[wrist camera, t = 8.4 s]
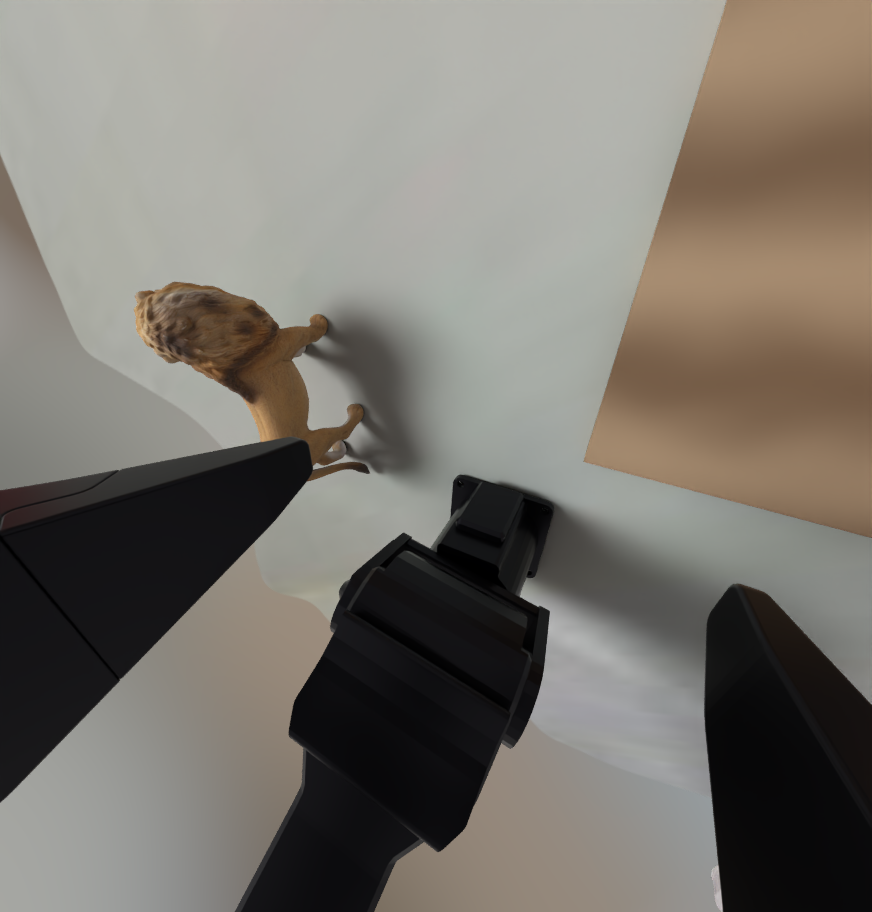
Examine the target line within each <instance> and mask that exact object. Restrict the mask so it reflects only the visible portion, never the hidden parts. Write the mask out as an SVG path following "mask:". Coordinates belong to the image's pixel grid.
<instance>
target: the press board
mask: <svg viewBox="0 0 872 912" xmlns="http://www.w3.org/2000/svg"><path fill="white" fill-rule="evenodd" d="M584 462H587V463H590V464H594V465H598V466H602V467H605V468H609V469H613V470H617V471H621V472H624V473H628V474H632V475H636V476H640V477H643V478H647V479H651V480H655V481H658V482H662V483H666V484H670V485H674V486H677V487H681V488H685V489H689V490H692V491H696V492H700V493H704V494H708V495H711V496H715V497H719V498H723V499H727V500H730V501H734V502H738V503H742V504H745V505H749V506H753V507H757V508H761V509H764V510H768V511H772V512H776V513H780V514H783V515H787V516H791V517H795V518H798V519H802V520H806V521H810V522H814V523H817V524H821V525H825V526H829V527H832V528H836V529H840V530H844V531H848V532H851V533H855V534H859V535H863V536H867V537H870V538H872V0H727V2H726V5H725V8H724V12H723V15H722V18H721V21H720V24H719V28H718V31H717V34H716V37H715V40H714V44H713V47H712V50H711V53H710V56H709V60H708V63H707V66H706V69H705V72H704V76H703V79H702V82H701V85H700V89H699V92H698V95H697V98H696V101H695V105H694V108H693V111H692V114H691V117H690V121H689V124H688V127H687V130H686V133H685V137H684V140H683V143H682V146H681V149H680V153H679V156H678V159H677V162H676V165H675V169H674V172H673V175H672V178H671V182H670V185H669V188H668V191H667V194H666V198H665V201H664V204H663V207H662V210H661V214H660V217H659V220H658V223H657V226H656V230H655V233H654V236H653V239H652V242H651V246H650V249H649V252H648V255H647V259H646V262H645V265H644V268H643V271H642V275H641V278H640V281H639V284H638V287H637V291H636V294H635V297H634V300H633V303H632V307H631V310H630V313H629V316H628V319H627V323H626V326H625V329H624V332H623V336H622V339H621V342H620V345H619V348H618V352H617V355H616V358H615V361H614V364H613V368H612V371H611V374H610V377H609V380H608V384H607V387H606V390H605V393H604V396H603V400H602V403H601V406H600V409H599V412H598V416H597V419H596V422H595V425H594V429H593V432H592V435H591V438H590V441H589V445H588V448H587V451H586V454H585V458H584Z"/></svg>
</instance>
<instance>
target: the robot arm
mask: <svg viewBox="0 0 872 912" xmlns="http://www.w3.org/2000/svg"><path fill="white" fill-rule="evenodd" d="M312 471H313V465H312V459H311V453H310V447H309V444H308V443H307V441H305V440H303V439H300V438H297V437H292V436H291V437H285V438H280V439H275V440H270V441H264V442H259V443H254V444H249V445H244V446H239V447H233V448H228V449H223V450H218V451H213V452H208V453H203V454H198V455H193V456H187V457H182V458H177V459H172V460H167V461H161V462H156V463H151V464H146V465H141V466H136V467H130V468H126V469H122V470H120V471H119V470H115V471H109V472H105V473H99V474H94V475H88V476H83V477H78V478H72V479H67V480H61V481H55V482H49V483H43V484H37V485H31V486H24V487H18V488H11V489H5V490H0V802H1V801H3V800H4V799H5V798H6V797H7V796H8V795H9V794H10V793H11V792H12V791H13V790H14V789H15V788H16V787H17V786H18V785H19V784H20V783H21V782H22V781H23V780H24V779H25V778H26V777H27V776H28V775H29V774H30V773H31V772H32V771H33V770H34V769H35V768H36V767H37V766H38V765H39V764H40V763H41V762H42V760H43V759H44V758H46V756H47V755H48V754H49V753H50V752H51V751H52V750H53V749H54V748H55V747H56V746H57V745H58V744H59V743H60V742H61V741H62V740H63V739H64V738H65V737H66V736H67V735H68V734H69V733H70V732H71V731H72V730H73V729H74V728H75V727H76V726H77V725H78V724H79V722H80V721H81V720H82V719H83V718H84V717H85V716H86V715H87V714H88V713H89V712H90V711H91V710H92V709H93V708H94V707H95V706H96V705H97V704H98V703H99V702H100V701H101V700H102V699H103V698H104V697H105V696H106V695H107V694H108V692H109V691H111V689H112V688H113V687H114V686H115V685H116V684H117V683H118V682H119V681H120V679H121V678H122V677H124V675H126V673H128V672H129V670H131V668H132V667H133V666H134V665H135V664H136V663H137V662H138V661H139V660H140V659H141V658H142V657H143V656H144V655H145V654H146V653H147V652H148V651H149V650H150V649H151V648H152V647H153V646H154V644H156V643H157V642H158V641H159V640H160V639H161V638H162V636H163V635H164V634H165V633H166V632H167V631H168V630H169V629H170V628H171V627H172V626H173V625H174V624H175V623H176V622H177V621H178V620H179V619H180V618H181V617H182V616H183V615H184V614H185V613H186V612H187V611H188V610H189V609H190V608H191V607H192V606H193V605H194V604H195V603H196V602H197V601H198V600H199V598H201V596H202V595H203V594H204V593H205V592H206V591H207V590H208V589H209V588H210V587H211V586H212V585H213V584H214V583H215V582H216V581H217V580H218V579H219V578H220V577H221V576H222V575H223V574H224V573H225V572H226V571H227V570H228V569H229V568H230V567H231V566H232V565H233V564H234V562H236V560H237V559H238V558H239V557H240V556H241V555H242V554H243V553H244V552H245V551H246V550H247V549H248V548H249V547H250V546H251V545H252V544H253V543H254V542H255V541H256V540H257V539H258V538H259V537H260V536H261V535H262V534H263V533H264V532H265V531H266V530H267V529H268V528H269V526H270V525H271V524H272V523H273V522H274V521H275V520H276V519H277V517H278V516H279V515H280V514H281V513H282V511H283V510H284V509H285V508H286V506H287V505H288V504H289V503H290V501H291V500H292V499H293V498H294V497H295V495H296V494H297V493H298V492H299V490H300V489H301V488H302V487H303V485H304V484H305V483H306V482H307V480H308V479H309V478H310V476H311V474H312ZM459 481H461V482H463V484H461V483H460V482H459ZM542 508H546V509H548V511H544V510H543V509H542ZM553 513H554V506H553V505H552V504H551V503H550V502H548V501H545V500H542V499H538V498H535V497H532V496H529V495H526V494H522V493H520V492H517V491H514V490H510V489H507V488H504V487H501V486H498V485H494V484H491V483H488V482H485V481H481V480H477V479H474V478H471V477H468V476H465V475H458V476H457V477H456V478H455V480H454V482H453V493H452V505H451V517H450V520H449V521H448V523H447V524H446V526H445V527H444V529H443V530H442V532H441V533H440V535H439V536H438V538H437V539H436V541H435V542H434V544H433V545H432V546H431V548H428V547H426V546H424V545H422V544H420V543H419V542H417V541H415V540H413V539H412V537H411V536H409V535H407V534H405V533H402V534H401V535H400V536H399V537H397V538H396V539H395V540H392V541H391V542H390V543H389V544H388V545H386V546H385V547H384V548H383V549H382V550H381V551H379V552H378V553H377V554H376V555H375V556H374V557H372V558H371V559H370V560H369V561H368V562H366V563H365V564H364V565H363V566H362V567H361V568H359V569H358V570H357V571H356V572H355V573H354V574H353V575H352V577H351V579H350V580H348V581H346V582H345V583H344V584H343V585H342V586H341V588H340V590H339V597H340V600H339V602H338V604H337V607H336V609H335V611H334V614H333V617H332V620H331V625H330V629H331V631H332V632H333V633H334V634H333V636H332V638H331V640H330V642H329V644H328V645H327V647H326V649H325V651H324V653H323V655H322V657H321V659H320V660H319V662H318V664H317V665H316V667H315V669H314V670H313V672H312V673H311V675H310V677H309V678H308V680H307V681H306V683H305V685H304V686H303V688H302V689H301V691H300V692H299V694H298V696H297V697H296V699H295V702H294V705H293V710H292V715H291V721H290V727H289V737H290V738H291V739H293V740H294V741H295V742H297V743H298V744H299V745H300V746H302V747H303V770H302V784H301V787H300V789H299V791H298V794H297V795H296V797H295V799H294V801H293V803H292V805H291V807H290V809H289V811H288V813H287V815H286V816H285V818H284V820H283V822H282V824H281V826H280V828H279V830H278V831H277V833H276V835H275V837H274V839H273V841H272V843H271V845H270V847H269V848H268V851H267V852H266V854H265V856H264V858H263V860H262V862H261V864H260V865H259V867H258V869H257V871H256V873H255V875H254V877H253V879H252V880H251V882H250V884H249V886H248V888H247V890H246V892H245V894H244V895H243V897H242V899H241V901H240V903H239V905H238V907H237V909H236V911H235V912H374V911H375V908H376V906H377V903H378V901H379V899H380V897H381V894H382V892H383V890H384V888H385V885H386V883H387V881H388V878H389V876H390V874H391V872H392V869H393V867H394V865H395V863H396V861H397V860H399V859H400V858H401V857H403V856H404V855H406V854H407V853H409V852H410V851H411V850H413V849H414V848H416V847H417V846H419V845H420V844H422V843H423V842H425V843H426V844H428V845H429V846H430V847H431V848H433V849H434V850H435V851H437V852H439V851H441V850H443V849H444V848H445V847H446V846H447V845H448V844H449V843H450V842H451V841H452V840H454V839H455V838H456V837H457V836H458V835H459V834H460V833H461V832H462V831H463V830H464V829H465V827H466V825H467V822H468V820H469V817H470V814H471V812H472V809H473V806H474V805H475V803H476V801H477V799H478V797H479V794H480V792H481V790H482V787H483V785H484V782H485V780H486V778H487V776H488V773H489V771H490V769H491V766H492V764H493V761H494V759H495V756H496V754H497V752H498V749H499V747H500V745H501V743H502V744H504V745H505V746H507V747H508V748H510V749H511V748H512V747H514V746H515V744H516V743H517V742H518V740H519V739H520V737H521V735H522V733H523V731H524V729H525V727H526V725H527V723H528V721H529V718H530V716H531V713H532V711H533V708H534V705H535V702H536V699H537V696H538V693H539V689H540V686H541V681H542V677H543V671H544V663H545V653H546V644H547V634H548V624H549V615H550V611H549V610H547V609H545V608H543V607H541V606H539V607H537V606H535V605H534V604H532V603H530V602H528V601H526V600H524V599H522V598H521V597H519V596H520V593H521V590H522V588H523V585H524V582H525V579H526V577H528V578H533V577H535V575H536V572H537V569H538V565H539V562H540V558H541V555H542V551H543V548H544V544H545V541H546V537H547V534H548V530H549V527H550V523H551V520H552V516H553ZM528 570H530V571H528ZM704 717H705V732H706V742H707V753H708V763H709V773H710V784H711V794H712V804H713V815H714V825H715V836H716V846H717V856H718V867H719V877H720V887H721V898H722V908H723V912H872V705H871V704H870V703H869V702H868V700H867V699H866V698H865V697H864V696H863V695H862V694H861V693H860V692H859V691H858V690H857V689H856V688H855V687H854V686H853V684H852V683H851V682H850V681H849V680H848V679H847V678H846V677H845V676H844V675H843V674H842V673H841V672H840V671H839V670H838V669H837V667H836V666H835V665H834V664H833V663H832V662H831V661H830V660H829V659H828V658H827V657H826V656H825V655H824V654H823V653H822V651H821V650H820V649H819V648H818V647H817V646H816V645H815V644H814V643H813V642H812V641H811V640H810V639H809V638H808V637H807V635H806V634H805V633H804V632H803V631H802V630H801V629H800V628H799V627H798V626H797V625H796V624H795V623H794V622H793V621H792V619H791V618H790V617H789V616H788V615H787V614H786V613H785V612H784V611H783V610H782V609H781V608H780V607H779V606H778V605H777V603H776V602H775V601H774V600H773V599H772V598H771V597H770V596H769V595H768V594H766V593H765V592H762V591H760V590H757V589H754V588H751V587H748V586H745V585H742V584H733V585H731V586H730V587H729V588H728V589H727V591H726V592H725V593H724V595H723V596H722V597H721V599H720V600H719V601H718V603H717V604H716V605H715V607H714V608H713V609H712V611H711V612H710V614H709V617H708V620H707V629H706V661H705V694H704Z"/></svg>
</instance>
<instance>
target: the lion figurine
mask: <svg viewBox="0 0 872 912" xmlns="http://www.w3.org/2000/svg"><path fill="white" fill-rule="evenodd" d="M135 298H136V301H137V303H138V304H137V306H136V307H135V308H134V312H135V315H136V326H137V328H136V330H137V332H138V334H139V336H140V337H141V338H142V339H143V341H144V342H145V344H146V345H147V346H149V347H151V348H153V349H154V352H155V353H156V354H157V355H158V356H160V357H162V358H163V359H164V360H165V361H166V362H168V363H176V362H179V361H181V362H184V363H186V364H188V365H191V366H192V367H193V368H194V369H195V370H196V371H198V372H201V373H203V374H204V375H205V376H206V377H208V378H211V379H214V380H215V381H217V382H218V383H220V384H222V385H223V386H226V387H228V388H229V389H230V390H231V391H233V392H236V393H238V394H239V395H240V396H242V397H243V399H244V401H245V402H246V404H247V406H248V408H249V409H250V411H251V413H252V415H253V418H254V420H255V422H256V424H257V427H258V430H259V434H260V440H261V442H264V441H270V440H275V439H280V438H285V437H291V436H292V437H297V438H300V439H303V440H305V441H307V443H308V444H309V447H310V453H311V459H312V465H313V466H314V465H315V464H316V463H319V464H320V465H328V464H330V463H332V462H335V461H337V460H339V459H341V458H343V457H344V455H345V454H346V446H345V444H344V442H343V441H341V440H344V439H347V438H348V437H349V436H350V434H351V432H352V431H353V429H354V428H355V426H356V425H357V424H358V423H359V422H360V421H361V419H362V417H363V409H362V407H361V406H360V405H359V404H351V405H349V406H348V408H347V412H348V419H347V421H346V422H345V423H344V424H343V425H342V426H340V427H334V428H322V429H318V430H314V431H312V430H309V428H308V426H307V420H308V412H309V398H308V394H307V390H306V386H305V383H304V381H303V379H302V377H301V375H300V373H299V371H298V369H297V368H296V366H295V364H294V363H293V361H292V359H293V358H294V357H299V356H301V355H302V353H303V352H305V350H306V345H309V344H310V343H312V342H316V341H318V340H319V339H320V338H321V337H322V336H323V335H324V334H325V333H326V330H327V327H328V323H327V320H326V319H325V318H324V317H323V316H322V315H319V314H315V315H313V316H312V317H311V318H310V323H311V325H310V326H309V327H298V326H297V327H289V328H284V329H280V328H279V325H278V324H277V323H276V322H275V321H274V320H273V318H272V317H271V316H270V315H269V314H268V313H267V312H266V311H265V309H264V308H262V307H260V306H259V305H257V304H256V302H255V301H253V300H250V299H246V298H244V297H238V296H236V295H232V294H230V293H227V292H225V291H223V290H222V289H219V288H217V287H214V286H200V285H196V284H192V283H181V282H172V283H170V284H168V285H167V286H165V287H164V288H162V289H161V290H155V291H154V292H153V291H150V290H149V291H141V292H138V293H136V295H135ZM331 447H332V448H333V451H332V452H328V450H329V449H330V448H331ZM344 469H353V470H356V471H358V472H362V473H366V474H370V472H369V470H368V467H367V466H366V465H365V464H362V463H358V462H347V463H340V464H335V465H331V466H327V467H324V468H319V469H315V470H313V471H312V474H311V476H310V478H309V479H308V480H307V481H311V480H314V479H317V478H320V477H323V476H326V475H328V474H331V473H334V472H337V471H340V470H344Z"/></svg>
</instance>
